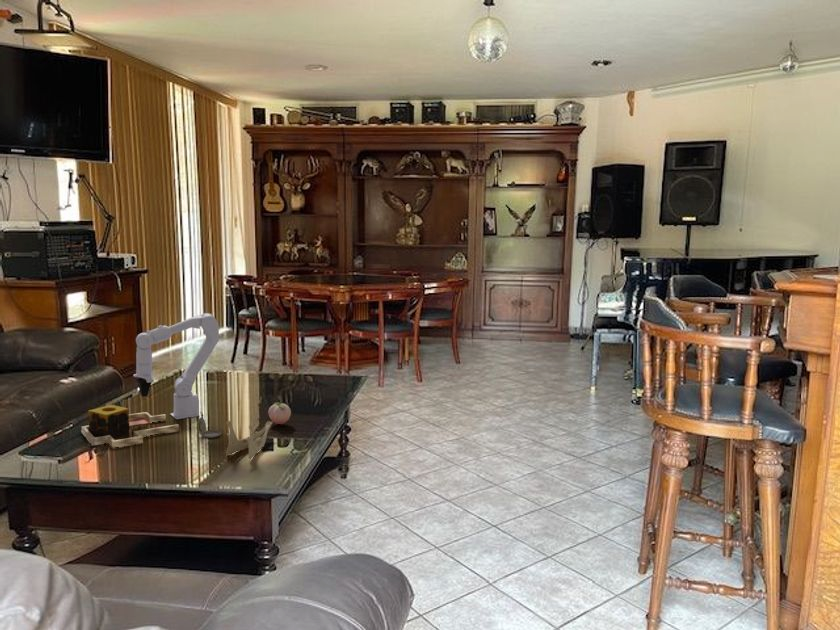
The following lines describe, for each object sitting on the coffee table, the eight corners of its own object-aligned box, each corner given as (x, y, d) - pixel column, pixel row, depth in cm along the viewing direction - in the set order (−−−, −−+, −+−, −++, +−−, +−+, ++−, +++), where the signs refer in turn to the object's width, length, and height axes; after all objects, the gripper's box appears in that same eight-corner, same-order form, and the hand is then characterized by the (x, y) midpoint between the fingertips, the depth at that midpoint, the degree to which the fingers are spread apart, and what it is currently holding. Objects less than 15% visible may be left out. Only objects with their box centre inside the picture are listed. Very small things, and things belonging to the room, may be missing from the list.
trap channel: (159, 415, 250) (159, 410, 249) (184, 436, 228) (184, 429, 228) (77, 428, 230) (77, 421, 230) (96, 451, 209) (96, 444, 208)
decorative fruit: (295, 425, 247) (295, 402, 245) (277, 429, 241) (278, 405, 239) (281, 420, 253) (282, 397, 252) (264, 424, 247) (265, 400, 246)
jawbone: (251, 462, 206) (249, 422, 205) (225, 460, 209) (222, 421, 208) (283, 440, 231) (281, 405, 230) (260, 439, 233) (258, 404, 232)
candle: (106, 442, 218) (106, 415, 217) (87, 436, 222) (86, 410, 221) (130, 434, 227) (130, 408, 226) (111, 429, 231) (111, 404, 230)
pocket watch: (224, 434, 232) (224, 409, 231) (209, 441, 224) (209, 415, 223) (206, 431, 235) (206, 406, 233) (191, 437, 227) (191, 411, 225)
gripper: (128, 360, 245) (128, 393, 247) (139, 367, 234) (139, 401, 236) (146, 358, 250) (146, 390, 252) (158, 365, 239) (158, 399, 241)
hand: (144, 396), depth 244 cm, fingers closed
